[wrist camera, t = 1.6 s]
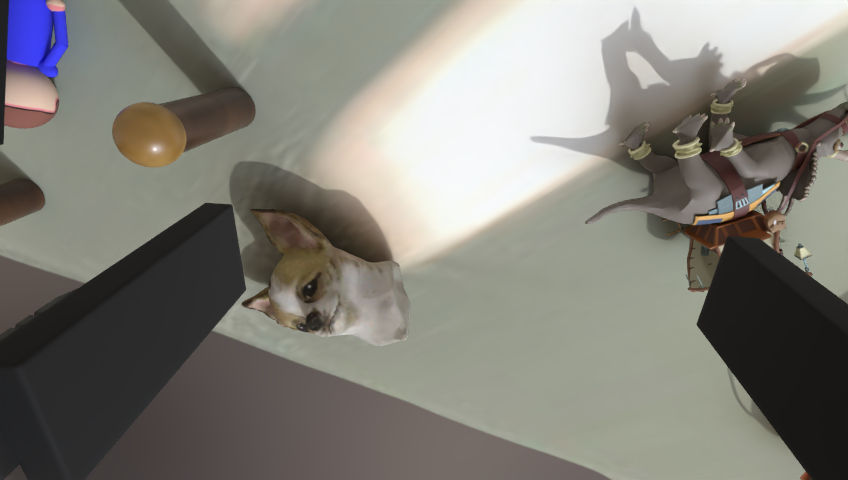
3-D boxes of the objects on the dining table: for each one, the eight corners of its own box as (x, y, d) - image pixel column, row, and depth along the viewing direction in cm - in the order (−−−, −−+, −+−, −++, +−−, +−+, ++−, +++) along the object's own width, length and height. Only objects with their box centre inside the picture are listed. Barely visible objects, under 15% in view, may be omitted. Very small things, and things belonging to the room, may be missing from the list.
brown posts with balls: (0, 182, 40) (-183, 240, 29) (245, 76, 34) (136, 97, 23) (27, 218, 41) (-138, 287, 30) (267, 121, 36) (175, 162, 25)
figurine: (920, 14, 25) (958, 259, 30) (831, 19, 30) (877, 226, 36) (574, 190, 29) (662, 376, 35) (552, 167, 35) (631, 330, 40)
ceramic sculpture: (387, 406, 35) (203, 349, 36) (407, 340, 43) (256, 294, 43) (420, 290, 31) (209, 228, 31) (436, 240, 38) (268, 191, 39)
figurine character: (15, -97, 32) (-1, 108, 37) (-109, -151, 25) (-109, 112, 30) (107, -60, 33) (80, 138, 37) (11, -101, 26) (-7, 150, 30)
